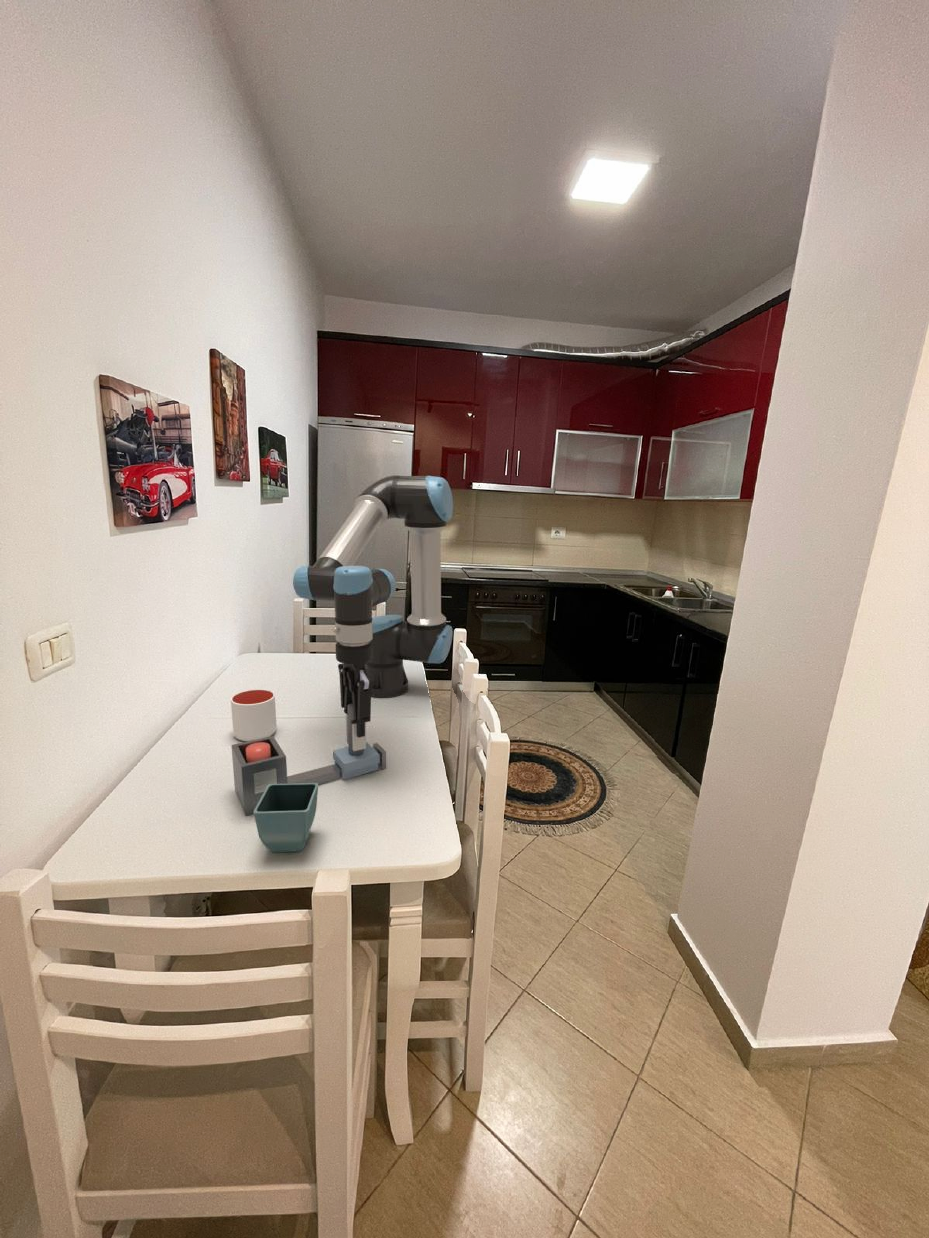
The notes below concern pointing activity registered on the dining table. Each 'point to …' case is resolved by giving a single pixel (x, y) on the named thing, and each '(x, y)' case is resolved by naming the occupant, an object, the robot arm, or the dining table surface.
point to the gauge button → (257, 752)
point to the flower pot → (286, 815)
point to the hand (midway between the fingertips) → (355, 745)
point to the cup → (253, 714)
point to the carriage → (355, 755)
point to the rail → (330, 771)
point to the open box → (257, 772)
